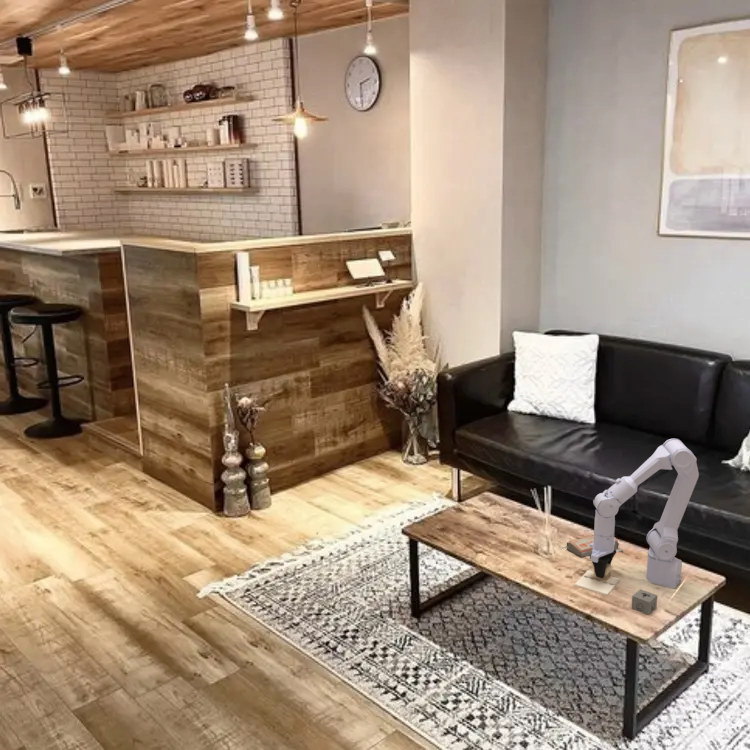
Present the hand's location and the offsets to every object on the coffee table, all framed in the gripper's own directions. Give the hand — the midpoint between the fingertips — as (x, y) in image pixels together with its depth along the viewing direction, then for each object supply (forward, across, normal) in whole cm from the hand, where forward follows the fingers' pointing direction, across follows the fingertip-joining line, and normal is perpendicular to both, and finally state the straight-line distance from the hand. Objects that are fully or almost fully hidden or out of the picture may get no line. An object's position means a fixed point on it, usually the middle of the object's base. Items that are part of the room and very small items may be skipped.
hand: (602, 574), depth 232 cm
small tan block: (+1, 0, 0) cm, 1 cm away
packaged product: (+3, -17, -10) cm, 20 cm away
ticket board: (+2, +2, 0) cm, 3 cm away
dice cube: (+3, +9, +16) cm, 18 cm away
